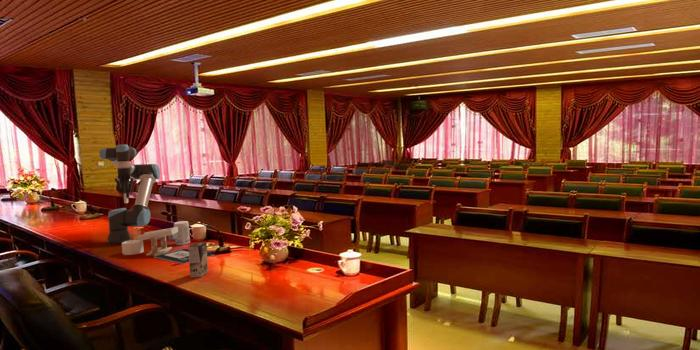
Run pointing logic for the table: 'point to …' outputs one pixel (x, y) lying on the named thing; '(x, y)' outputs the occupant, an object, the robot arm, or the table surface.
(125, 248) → the cup
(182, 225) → the supplement tub
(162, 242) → the chute stand
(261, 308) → the table surface
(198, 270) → the coffee box
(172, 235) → the seesaw chute
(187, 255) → the sketchbook
